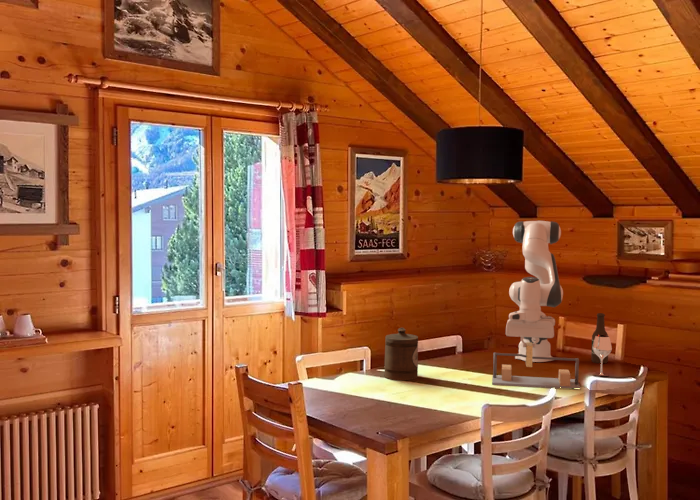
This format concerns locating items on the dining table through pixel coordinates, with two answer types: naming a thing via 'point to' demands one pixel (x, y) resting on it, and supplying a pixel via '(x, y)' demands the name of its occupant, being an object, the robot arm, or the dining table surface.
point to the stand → (535, 378)
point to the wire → (537, 357)
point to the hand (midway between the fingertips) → (529, 347)
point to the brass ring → (529, 354)
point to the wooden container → (401, 356)
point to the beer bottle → (599, 331)
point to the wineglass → (602, 348)
